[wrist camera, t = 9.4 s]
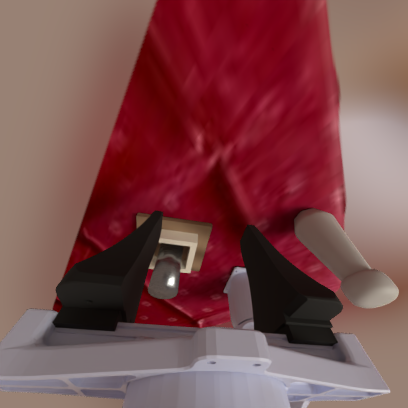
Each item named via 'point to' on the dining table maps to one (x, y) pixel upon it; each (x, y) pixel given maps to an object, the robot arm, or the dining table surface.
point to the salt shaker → (343, 259)
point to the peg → (166, 272)
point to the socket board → (182, 239)
